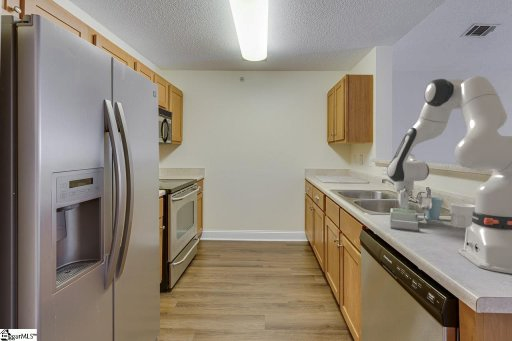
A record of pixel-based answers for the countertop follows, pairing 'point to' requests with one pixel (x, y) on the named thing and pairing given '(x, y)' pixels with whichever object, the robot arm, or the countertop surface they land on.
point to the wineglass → (425, 206)
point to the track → (404, 225)
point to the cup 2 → (461, 214)
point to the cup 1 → (434, 208)
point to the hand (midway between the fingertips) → (402, 213)
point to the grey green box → (403, 215)
